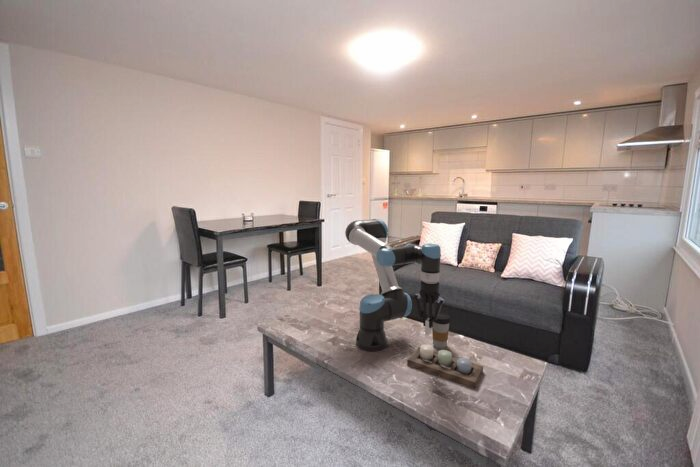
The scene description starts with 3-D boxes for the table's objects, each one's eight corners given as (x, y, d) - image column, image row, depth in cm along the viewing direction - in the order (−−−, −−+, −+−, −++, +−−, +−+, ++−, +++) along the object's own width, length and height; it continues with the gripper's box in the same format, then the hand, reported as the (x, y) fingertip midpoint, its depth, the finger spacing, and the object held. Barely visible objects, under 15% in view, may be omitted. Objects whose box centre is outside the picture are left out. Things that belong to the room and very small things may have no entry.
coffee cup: (449, 350, 150) (451, 320, 147) (431, 348, 151) (432, 318, 149) (447, 342, 158) (449, 313, 155) (430, 340, 159) (431, 311, 157)
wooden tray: (407, 364, 138) (407, 359, 138) (419, 351, 149) (419, 346, 149) (474, 388, 123) (475, 382, 122) (482, 371, 133) (483, 366, 133)
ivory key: (417, 357, 139) (418, 348, 138) (422, 351, 144) (423, 343, 143) (430, 361, 136) (430, 352, 135) (434, 355, 141) (435, 346, 140)
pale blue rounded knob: (455, 371, 130) (455, 362, 130) (458, 365, 135) (459, 356, 134) (468, 376, 127) (469, 366, 127) (472, 369, 132) (473, 360, 131)
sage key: (435, 363, 135) (436, 354, 134) (440, 357, 139) (440, 348, 138) (449, 367, 132) (449, 358, 131) (453, 361, 136) (453, 352, 135)
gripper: (411, 280, 135) (410, 333, 139) (442, 286, 127) (439, 341, 131) (418, 276, 141) (416, 326, 145) (448, 281, 134) (445, 334, 137)
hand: (427, 333), depth 138 cm, fingers closed
